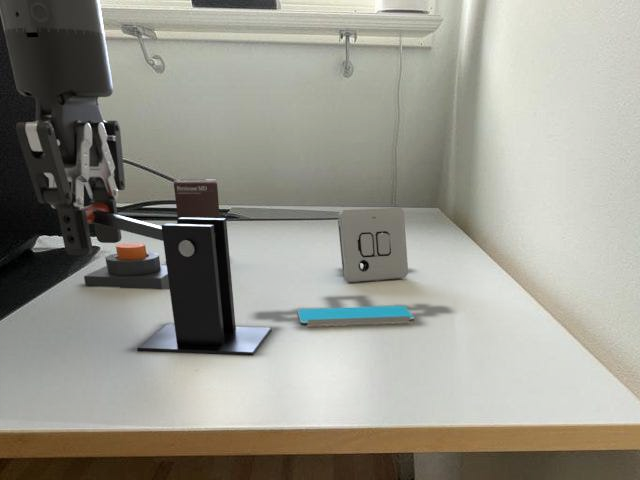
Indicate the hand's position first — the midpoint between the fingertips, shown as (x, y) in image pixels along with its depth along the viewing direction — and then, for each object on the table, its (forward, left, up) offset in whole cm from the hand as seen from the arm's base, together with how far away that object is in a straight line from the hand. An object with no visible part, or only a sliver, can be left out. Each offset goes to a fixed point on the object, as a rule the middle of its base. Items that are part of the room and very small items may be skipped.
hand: (95, 247), depth 61 cm
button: (-7, +24, -6) cm, 26 cm away
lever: (+5, 0, +1) cm, 5 cm away
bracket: (+10, 0, -9) cm, 14 cm away
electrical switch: (+23, +34, -10) cm, 42 cm away
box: (-2, +37, -10) cm, 38 cm away
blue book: (+23, +12, -10) cm, 27 cm away
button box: (-7, +24, -9) cm, 27 cm away
